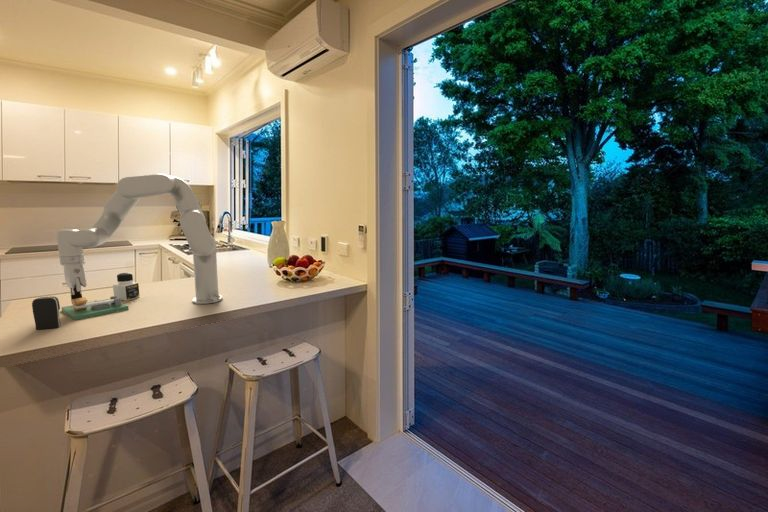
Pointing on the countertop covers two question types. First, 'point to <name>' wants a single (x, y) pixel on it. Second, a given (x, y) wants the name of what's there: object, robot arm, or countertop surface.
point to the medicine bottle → (126, 287)
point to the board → (95, 309)
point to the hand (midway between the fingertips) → (77, 303)
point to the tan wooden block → (79, 302)
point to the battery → (46, 312)
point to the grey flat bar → (95, 303)
